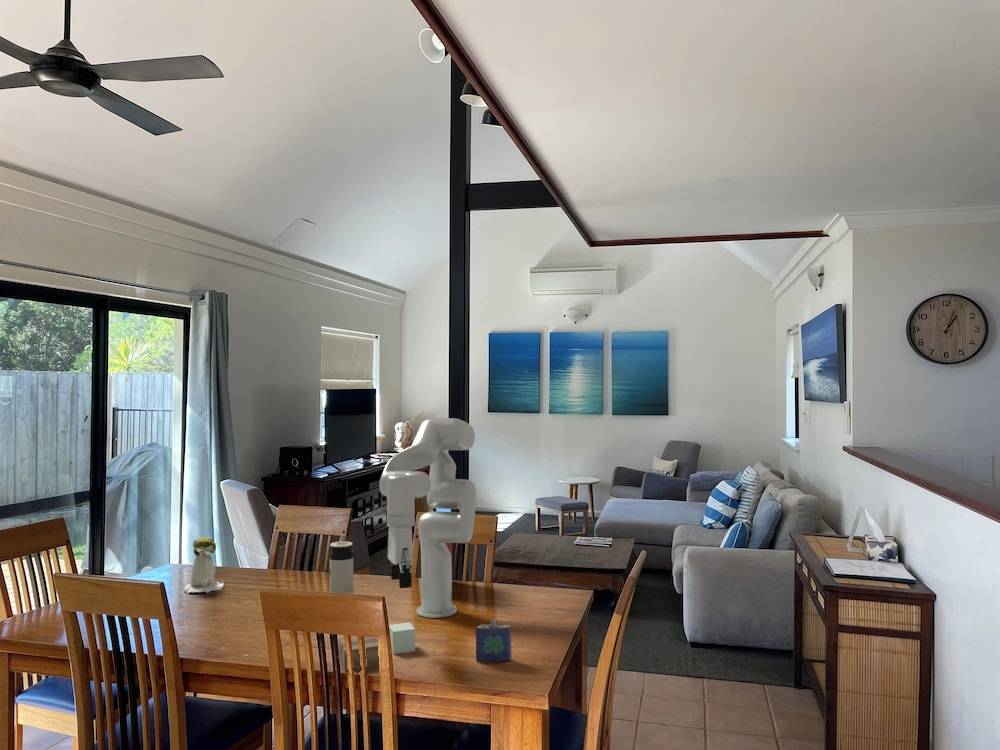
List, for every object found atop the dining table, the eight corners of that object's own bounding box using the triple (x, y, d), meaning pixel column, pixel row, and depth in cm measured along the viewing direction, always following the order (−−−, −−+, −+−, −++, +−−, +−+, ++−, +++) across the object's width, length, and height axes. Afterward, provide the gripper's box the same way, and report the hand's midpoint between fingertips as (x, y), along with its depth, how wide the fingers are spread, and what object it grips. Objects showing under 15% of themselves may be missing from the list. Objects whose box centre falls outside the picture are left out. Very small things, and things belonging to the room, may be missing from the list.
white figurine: (176, 591, 262) (176, 539, 262) (206, 582, 273) (206, 532, 273) (199, 596, 256) (199, 542, 256) (229, 586, 267) (228, 535, 267)
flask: (510, 658, 194) (510, 617, 194) (512, 662, 191) (511, 620, 192) (475, 659, 193) (475, 618, 194) (476, 664, 191) (475, 622, 191)
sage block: (388, 647, 204) (388, 625, 204) (409, 644, 206) (409, 622, 206) (393, 654, 198) (393, 631, 198) (415, 651, 200) (415, 628, 200)
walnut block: (338, 657, 196) (338, 638, 196) (376, 652, 200) (376, 633, 200) (344, 670, 187) (344, 650, 187) (384, 665, 190) (383, 645, 190)
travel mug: (356, 593, 257) (356, 541, 258) (349, 600, 249) (349, 546, 250) (334, 593, 258) (333, 541, 258) (326, 599, 250) (326, 545, 250)
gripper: (380, 516, 209) (380, 577, 209) (394, 526, 193) (394, 592, 193) (406, 514, 212) (406, 574, 212) (422, 524, 196) (422, 589, 195)
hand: (401, 583), depth 202 cm, fingers open, 9 cm apart
